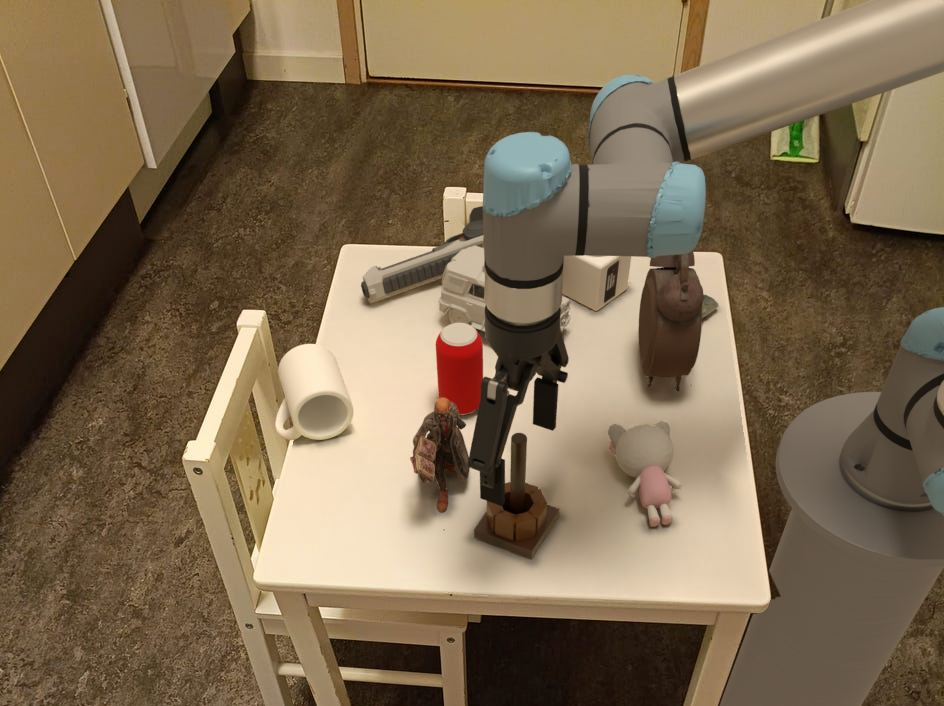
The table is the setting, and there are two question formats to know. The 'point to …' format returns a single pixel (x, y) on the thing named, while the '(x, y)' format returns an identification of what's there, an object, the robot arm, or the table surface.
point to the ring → (518, 515)
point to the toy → (647, 465)
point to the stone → (708, 305)
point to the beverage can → (460, 366)
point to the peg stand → (517, 506)
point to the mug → (312, 394)
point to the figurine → (440, 448)
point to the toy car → (473, 290)
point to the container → (595, 278)
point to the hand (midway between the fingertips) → (519, 462)
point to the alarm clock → (670, 318)
